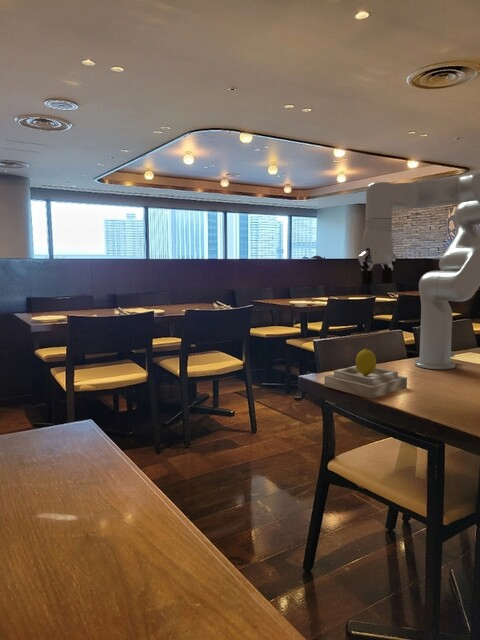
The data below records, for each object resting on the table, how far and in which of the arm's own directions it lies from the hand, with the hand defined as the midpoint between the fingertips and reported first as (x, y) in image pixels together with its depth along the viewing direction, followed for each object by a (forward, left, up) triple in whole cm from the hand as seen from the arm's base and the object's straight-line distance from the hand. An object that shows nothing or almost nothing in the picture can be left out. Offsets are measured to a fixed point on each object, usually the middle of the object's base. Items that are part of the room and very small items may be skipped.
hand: (377, 283), depth 138 cm
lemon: (+13, +6, -26) cm, 29 cm away
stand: (+13, +6, -28) cm, 32 cm away
